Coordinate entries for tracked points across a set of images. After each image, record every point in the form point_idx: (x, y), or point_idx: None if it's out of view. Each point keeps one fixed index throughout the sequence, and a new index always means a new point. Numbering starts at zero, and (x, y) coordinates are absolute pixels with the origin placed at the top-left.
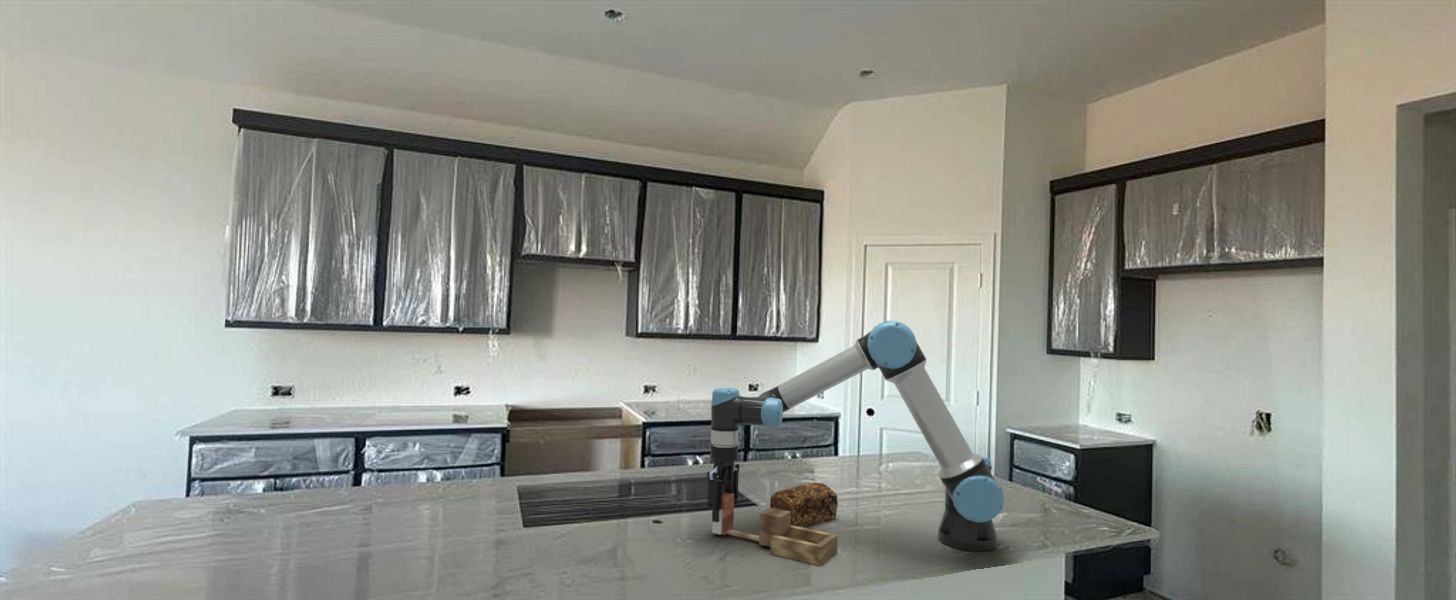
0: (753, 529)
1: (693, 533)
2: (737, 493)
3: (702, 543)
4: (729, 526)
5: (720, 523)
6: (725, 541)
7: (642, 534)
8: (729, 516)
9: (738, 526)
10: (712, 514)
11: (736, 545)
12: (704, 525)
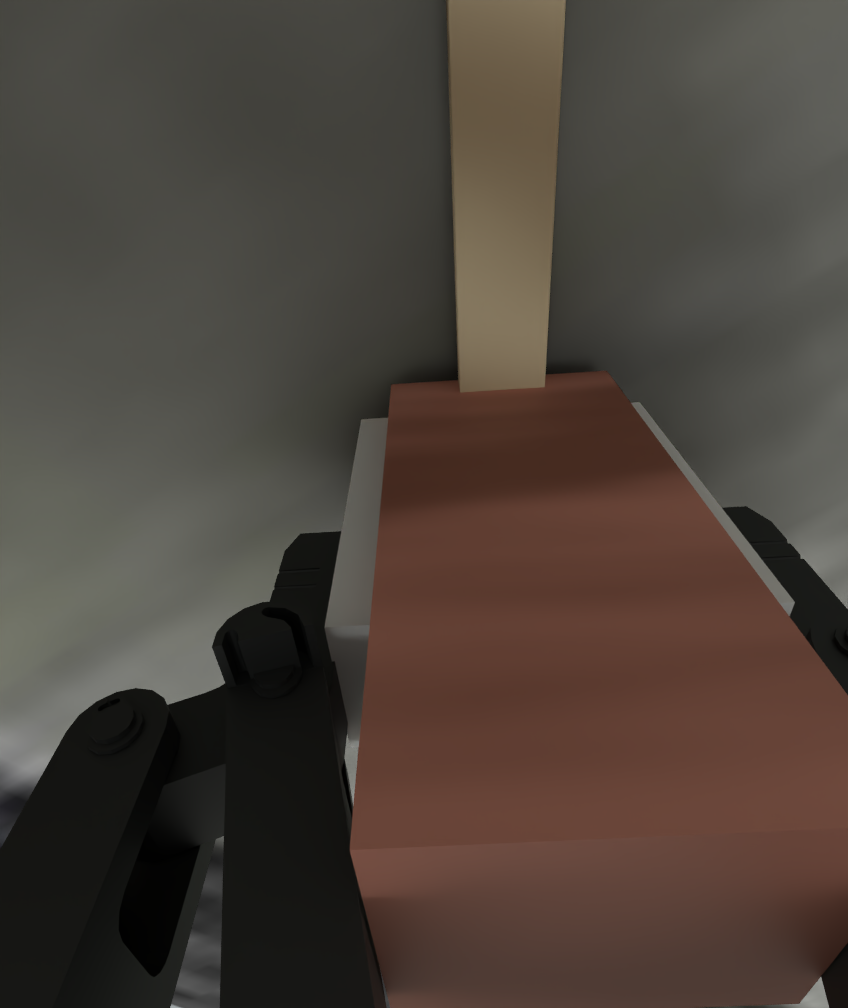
0: (91, 254)
1: None
2: (46, 826)
3: (837, 444)
4: (494, 409)
5: (692, 472)
6: (683, 287)
7: None
8: (519, 480)
9: (168, 452)
10: None
11: (771, 61)
12: None
